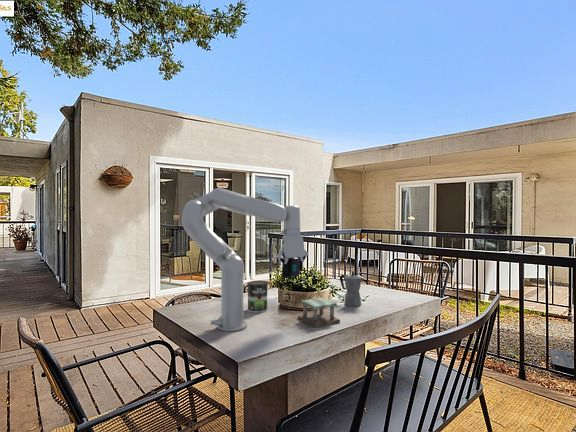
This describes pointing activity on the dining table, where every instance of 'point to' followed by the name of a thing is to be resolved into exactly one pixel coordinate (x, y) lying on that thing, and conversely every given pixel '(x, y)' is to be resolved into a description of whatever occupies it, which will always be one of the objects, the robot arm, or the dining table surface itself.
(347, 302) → the coffeepot
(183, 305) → the dining table surface
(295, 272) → the speaker
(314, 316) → the peg shelf stand
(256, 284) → the coffee can
